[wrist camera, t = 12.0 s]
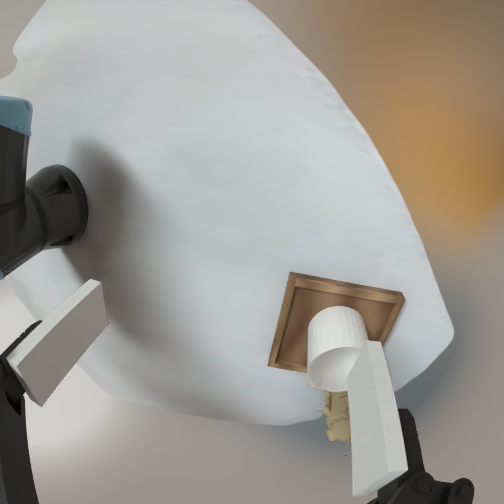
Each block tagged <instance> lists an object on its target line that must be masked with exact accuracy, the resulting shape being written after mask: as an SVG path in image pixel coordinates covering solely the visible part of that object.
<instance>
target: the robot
mask: <svg viewBox="0 0 504 504" xmlns="http://www.w3.org/2000/svg"><path fill="white" fill-rule="evenodd" d="M324 399H325V401H326V402H327V403H328V405H327V404H326V405H325V407H324V412H325V413H322V414H325V415H327V416H328V418H329V419H328V418H326V419H327V423H326V424H327V425H328V428H330V429H328V430H326V433H327V434H328V436H329V439H330V442H333V441H337V440H340V441H345V442H346V441H348V446H349V442H350V441H349V440H351V428H350V414H349V402H348V391H341V392H330V391H326V395H325V396H324ZM344 456H346V454H345V455H344Z"/></svg>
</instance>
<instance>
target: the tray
mask: <svg viewBox="0 0 504 504" xmlns="http://www.w3.org/2000/svg"><path fill="white" fill-rule="evenodd" d="M404 301H405V298H404V296H403V294H402V292H397V291H391V290H386V289H380V288H375V287H369V286H364V285H358V284H353V283H347V282H342V281H337V280H331V279H326V278H321V277H315V276H310V275H305V274H299V273H294V272H290V274H289V278H288V282H287V287H286V291H285V295H284V300H283V304H282V308H281V312H280V316H279V320H278V324H277V328H276V332H275V336H274V340H273V344H272V348H271V352H270V356H269V361H268V366H270V367H275V368H281V369H286V370H292V371H299V372H305V373H307V355H308V326H309V323H310V321H311V320H312V318H313V317H314V316H315V315H316V314H317V313H319V312H320V311H322V310H324V309H326V308H329V307H333V306H345V307H349V308H352V309H354V310H356V311H357V312H358V313H359V314H360V315H361V316H362V318H363V320H364V323H365V327H366V331H367V335H368V339H369V340H370V341H378V342H381V345H382V346H383V345H384V343H385V341H386V339H387V337H388V335H389V333H390V331H391V329H392V327H393V325H394V323H395V321H396V319H397V317H398V315H399V312H400V310H401V308H402V306H403V304H404Z"/></svg>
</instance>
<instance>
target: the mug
mask: <svg viewBox="0 0 504 504" xmlns="http://www.w3.org/2000/svg"><path fill="white" fill-rule="evenodd" d="M366 340H369V339H368V335H367V331H366V327H365V323H364V320H363V318H362V316H361V315H360V314H359V313H358V312H357V311H356V310H354V309H352V308H349V307H345V306H333V307H329V308H326V309H324V310H322V311H320V312H319V313H317V314H316V315H315V316H314V317H313V318H312V320H311V321H310V323H309V326H308V355H307V378H308V381H309V383H310V385H312V386H313V387H314V388H316V389H319V390H320V389H321V390H325V391H330V392H341V391H347V380H346V378H347V376H348V375H349V373H350V371H351V369H352V367H353V365H354V363H355V361H356V359H357V358H358V356H359V354H360V352H361V350H362V348H363V346H364V344H365V341H366Z"/></svg>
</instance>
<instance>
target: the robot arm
mask: <svg viewBox="0 0 504 504" xmlns="http://www.w3.org/2000/svg"><path fill="white" fill-rule="evenodd" d="M32 112H33V109H32V105H31V103H30V102H29V101H27V100H25V99H21V98H15V97H7V96H0V280H2V279H3V278H4V277H5V276H6V275H8V274H9V273H11V272H12V271H13V270H15V269H16V268H17V267H19V266H20V265H22V264H23V263H25V262H26V261H27V260H29V259H30V258H32V257H33V256H35V255H36V254H38V253H39V252H41V251H43V250H47V249H54V248H61V247H66V246H68V245H70V244H72V243H74V242H75V241H77V240H78V239H79V238H80V237H81V236H82V234H83V233H84V231H85V228H86V224H87V218H88V208H87V201H86V196H85V193H84V190H83V187H82V185H81V183H80V181H79V180H78V178H77V177H76V175H75V174H74V173H73V172H72V171H71V170H70V169H68V168H67V167H65V166H63V165H52V166H48V167H45V168H43V169H41V170H40V171H38V172H37V173H36V174H35V175H34V176H32V177H31V178H30V179H29V180H28V181H27V182H26V167H27V155H28V146H29V139H30V136H31V120H32ZM108 324H109V323H108V318H107V313H106V307H105V302H104V296H103V290H102V284H101V282H99V281H96V280H93V279H89V280H88V281H87V282H86V283H85V284H84V285H82V286H81V287H80V288H79V289H78V290H77V291H75V292H74V293H73V294H72V295H71V296H70V297H69V298H68V299H66V300H65V301H64V302H63V303H62V304H61V305H60V306H59V307H58V308H56V309H55V310H54V311H53V312H52V313H51V314H50V315H49V316H48V317H47V318H46V319H45V320H44V321H41V320H39V321H37V322H35V323H34V324H32V325H31V326H30V327H29V328H27V329H26V330H25V332H23V333H22V334H21V335H20V337H19V338H17V339H16V340H15V341H14V342H13V343H12V344H11V345H10V346H9V347H8V348H7V349H6V350H5V351H4V352H3V353H2V354H1V355H0V504H39V502H38V498H37V494H36V490H35V485H34V480H33V475H32V469H31V463H30V457H29V449H28V441H27V431H26V417H25V399H24V396H23V394H24V393H25V392H26V393H27V394H28V396H29V398H30V399H31V400H32V401H34V402H35V403H37V404H38V405H39V406H41V407H42V406H43V405H44V403H45V402H46V401H47V399H48V398H49V397H50V395H51V394H52V393H53V391H54V390H55V389H56V387H57V386H58V385H59V383H60V382H61V381H62V380H63V378H64V377H65V376H66V375H67V373H68V372H69V371H70V370H71V368H72V367H73V366H74V364H75V363H76V362H77V361H78V360H79V358H80V357H81V356H82V355H83V353H84V352H85V351H86V350H87V349H88V347H89V346H90V345H91V344H92V343H93V341H94V340H95V339H96V338H97V337H98V335H99V334H100V333H101V332H102V331H103V330H104V328H105V327H106V326H107V325H108ZM346 380H347V391H348V402H349V414H350V428H351V444H352V445H351V446H352V476H353V496H366V495H372V494H373V493H375V492H376V491H378V497H377V498H375V499H374V500H372V501H370V502H369V503H367V504H472V501H473V497H474V486H473V484H472V482H471V481H470V480H469V479H467V478H460V479H458V480H456V481H455V482H453V483H447V482H440V481H435V480H434V479H433V477H432V476H431V475H430V474H428V473H426V472H425V469H424V465H423V460H422V454H421V448H420V444H419V439H418V434H417V431H416V425H415V421H414V417H413V416H412V414H411V413H410V411H409V410H408V409H397V405H396V400H395V396H394V391H393V387H392V383H391V379H390V375H389V371H388V367H387V363H386V359H385V356H384V352H383V348H382V345H381V342H378V341H370V340H366V341H365V344H364V346H363V348H362V350H361V352H360V354H359V356H358V358H357V359H356V361H355V363H354V365H353V367H352V369H351V371H350V373H349V375H348V376H347V378H346Z"/></svg>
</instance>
